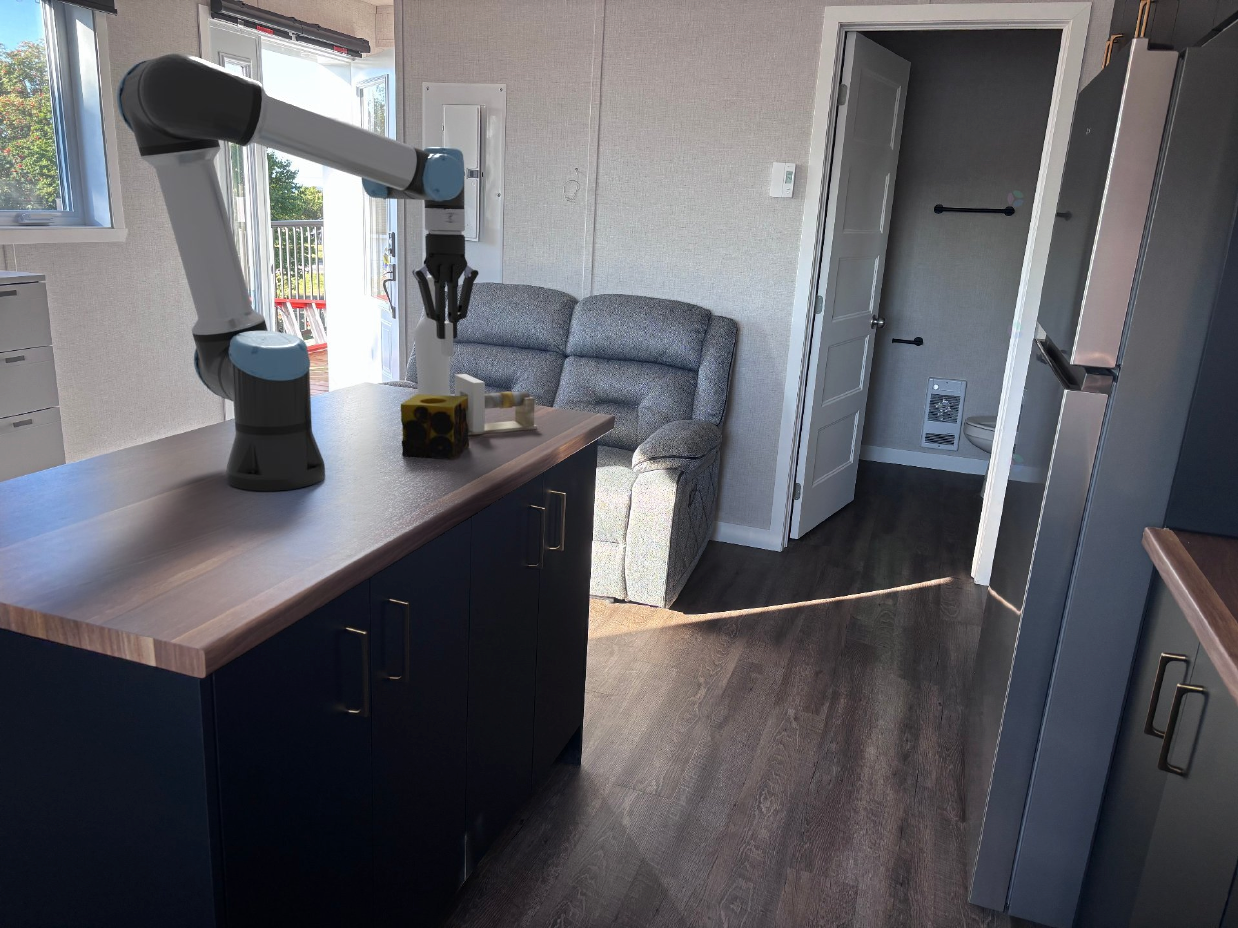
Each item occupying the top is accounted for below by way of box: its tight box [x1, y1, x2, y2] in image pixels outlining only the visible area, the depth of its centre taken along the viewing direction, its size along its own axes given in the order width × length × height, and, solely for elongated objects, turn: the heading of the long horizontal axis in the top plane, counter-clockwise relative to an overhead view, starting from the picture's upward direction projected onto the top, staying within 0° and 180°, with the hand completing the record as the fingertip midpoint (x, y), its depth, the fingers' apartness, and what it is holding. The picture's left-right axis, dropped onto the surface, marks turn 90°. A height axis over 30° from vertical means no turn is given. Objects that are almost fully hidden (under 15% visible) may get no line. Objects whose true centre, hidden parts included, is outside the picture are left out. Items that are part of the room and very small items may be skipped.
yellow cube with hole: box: [400, 393, 470, 460], centre depth 171 cm, size 10×10×10 cm
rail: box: [464, 390, 538, 436], centre depth 190 cm, size 19×6×8 cm, turn 121°
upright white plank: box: [454, 373, 486, 432], centre depth 187 cm, size 2×10×10 cm, turn 31°
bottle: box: [413, 275, 452, 396], centre depth 199 cm, size 8×8×30 cm
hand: (447, 355), depth 182 cm, fingers closed
